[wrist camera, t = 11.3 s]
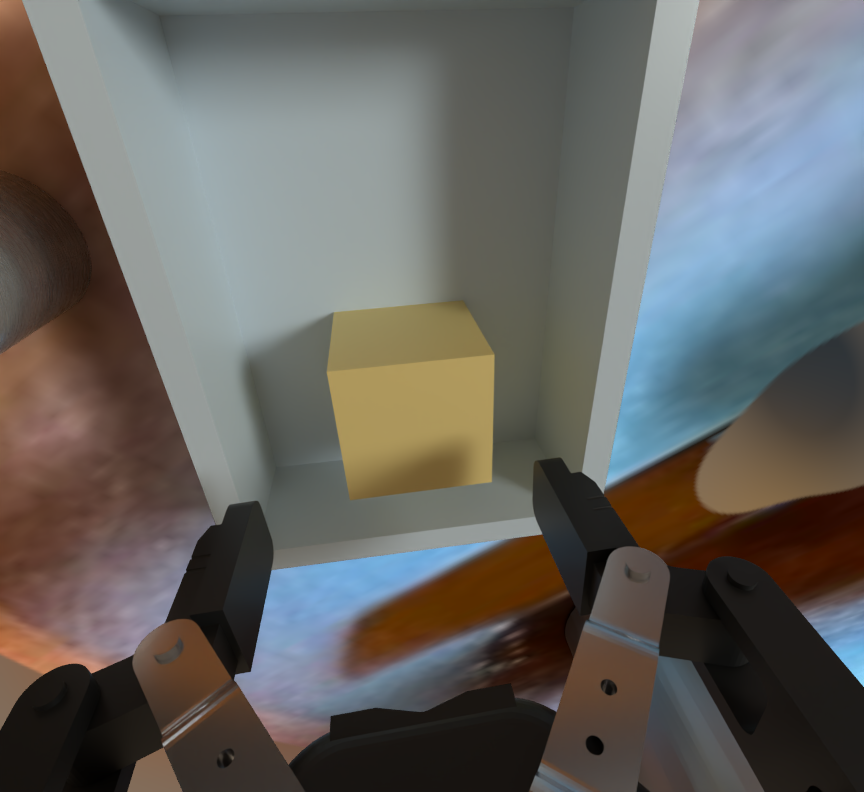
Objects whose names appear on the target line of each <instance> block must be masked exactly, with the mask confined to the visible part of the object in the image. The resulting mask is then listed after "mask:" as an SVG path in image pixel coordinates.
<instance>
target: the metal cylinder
mask: <svg viewBox="0 0 864 792" xmlns="http://www.w3.org/2000/svg"><path fill="white" fill-rule="evenodd" d="M90 278H91V259H90V253H89V250H88V247H87V244H86V241H85V239H84V237H83V235H82V233H81V231H80V229H79V228H78V226H77V224H76V223H75V222H74V220H73V219H72V218H71V216H70V215H69V214H68V213H67V212H66V210H65V209H64V208H63V207H62V206H61V205H60V204H59V203H58V202H57V201H55V200H54V199H53V198H52V197H51V196H50V195H48V194H47V193H46V192H44V191H43V190H42V189H40V188H39V187H37V186H35V185H34V184H32V183H31V182H29V181H27V180H25V179H23V178H21V177H19V176H16V175H14V174H11V173H8V172H6V171H2V170H0V354H2V353H3V352H5V351H6V350H8V349H9V348H11V347H12V346H14V345H15V344H17V343H18V342H20V341H21V340H23V339H24V338H26V337H27V336H29V335H30V334H32V333H33V332H35V331H36V330H38V329H39V328H41V327H43V326H44V325H46V324H47V323H49V322H50V321H52V320H53V319H55V318H56V317H58V316H59V315H61V314H62V313H64V312H65V311H67V310H68V309H70V308H71V307H73V306H74V305H75V304H76V303H77V302H79V301H80V299H81V298H82V297H83V295H84V294H85V292H86V290H87V288H88V286H89V282H90Z"/></svg>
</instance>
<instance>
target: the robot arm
mask: <svg viewBox="0 0 864 792" xmlns="http://www.w3.org/2000/svg"><path fill="white" fill-rule="evenodd" d="M532 502H533V510H534V515H535V518H536V521H537V523H538V525H539V528H540V530H541V532H542V534H543V536H544V539H545V541H546V543H547V545H548V547H549V550H550V552H551V554H552V556H553V558H554V561H555V563H556V565H557V567H558V569H559V572H560V574H561V576H562V578H563V580H564V583H565V585H566V587H567V589H568V591H569V594H570V596H571V598H572V600H573V602H574V605H575V609H574V610H573V611H572V613H571V614H570V616H569V618H568V620H567V623H566V628H565V636H566V641H567V643H568V646H569V648H570V651H571V653H572V656H573V658H574V659H573V662H572V665H571V668H570V672H569V675H568V678H567V681H566V684H565V687H564V691H563V694H562V697H561V700H560V703H559V706H558V710H557V712H555V711H554V710H552V709H550V708H548V707H546V706H544V705H541V704H539V703H536V702H534V701H529V700H525V699H520V698H515V697H514V694H513V690H512V686H511V683H510V684H505V685H499V686H494V687H488V688H483V689H477V690H472V691H467V692H465V693H463V694H461V695H459V696H457V697H455V698H453V699H451V700H449V701H446V702H444V703H442V704H440V705H438V706H436V707H434V708H432V709H430V710H428V711H425V712H412V711H402V710H392V709H382V708H373V709H367V710H362V711H356V712H351V713H345V714H340V715H334V716H331V722H330V732H329V733H327V734H325V735H323V736H322V737H320V738H319V739H317V740H315V741H314V742H312V743H311V744H310V745H309V746H307V747H306V748H305V749H304V750H302V751H301V752H300V753H299V754H298V755H297V756H296V757H295V758H294V759H293V760H292V761H291V763H290V764H289V765H288V764H287V762H286V760H285V759H284V757H283V756H282V754H281V753H280V751H279V749H278V748H277V746H276V745H275V743H274V741H273V740H272V738H271V737H270V735H269V733H268V732H267V730H266V729H265V727H264V726H263V724H262V722H261V721H260V719H259V718H258V716H257V714H256V713H255V711H254V710H253V708H252V707H251V705H250V703H249V702H248V700H247V699H246V697H245V695H244V694H243V692H242V691H241V689H240V688H239V686H238V685H237V683H236V682H235V681H234V677H235V674H240V673H246V672H251V667H252V662H253V658H254V653H255V648H256V643H257V638H258V633H259V628H260V623H261V618H262V614H263V609H264V604H265V599H266V594H267V589H268V584H269V579H270V574H271V570H272V565H273V558H274V549H273V541H272V538H271V535H270V532H269V529H268V526H267V523H266V520H265V517H264V514H263V511H262V508H261V505H260V503H259V502H258V501H250V502H243V503H236V504H230V505H229V506H228V508H227V510H226V513H225V516H224V518H223V521H222V524H220V525H213V526H210V528H209V529H208V530H207V531H206V532H205V533H204V534H203V536H202V537H201V538H200V539H199V540H198V542H197V544H196V547H195V549H194V552H193V554H192V560H190V562H189V564H188V567H187V569H186V573H185V574H184V577H183V579H182V582H181V584H180V587H179V589H178V592H177V594H176V597H175V599H174V602H173V604H172V607H171V609H170V612H169V614H168V617H167V619H166V622H165V624H163V625H161V626H159V627H157V628H156V629H155V630H153V631H152V632H151V633H149V634H148V635H147V636H146V637H145V638H144V639H143V640H142V642H141V643H140V644H139V646H138V648H137V649H136V651H135V654H134V655H132V656H130V657H128V658H126V659H124V660H122V661H120V662H117V663H115V664H113V665H110V666H108V667H106V668H104V669H101V670H99V671H97V672H94V673H92V674H91V673H90V672H89V670H88V669H87V668H86V667H85V666H83V665H80V664H68V665H64V666H60V667H58V668H56V669H53V670H51V671H49V672H48V673H46V674H44V675H43V676H41V677H40V678H39V679H37V680H36V681H35V682H34V683H33V684H31V685H30V686H29V687H28V688H27V689H26V690H25V691H24V692H23V693H22V695H21V696H20V697H19V698H18V700H17V702H16V703H15V705H14V707H13V708H12V710H11V712H10V714H9V716H8V717H7V719H6V721H5V723H4V725H3V726H2V728H1V730H0V792H127V790H128V787H129V784H130V780H131V777H132V774H133V770H134V768H135V764H136V761H137V760H140V759H141V758H143V757H145V756H147V755H149V754H151V753H153V752H155V751H157V750H159V749H161V748H163V747H164V749H165V752H166V754H167V756H168V759H169V761H170V763H171V766H172V768H173V770H174V772H175V775H176V777H177V780H178V782H179V784H180V786H181V788H182V791H183V792H864V687H863V686H862V684H861V683H860V682H859V681H858V680H857V679H856V677H855V676H854V675H853V674H852V673H851V671H850V670H849V669H848V668H847V667H846V666H845V664H844V663H843V662H842V661H841V660H840V658H839V657H838V656H837V655H836V654H835V653H834V651H833V650H832V649H831V648H830V647H829V645H828V644H827V643H826V642H825V641H824V640H823V638H822V637H821V636H820V635H819V634H818V632H817V631H816V630H815V629H814V628H813V626H812V625H811V624H810V623H809V622H808V621H807V619H806V618H805V617H804V616H803V615H802V613H801V612H800V611H799V610H798V609H797V608H796V606H795V605H794V604H793V603H792V602H791V600H790V599H789V598H788V597H787V596H786V595H785V593H784V592H783V591H782V590H781V589H780V587H779V586H778V585H777V584H776V583H775V582H774V580H773V579H772V578H771V577H770V576H769V575H768V574H767V573H766V572H765V571H764V570H763V569H761V568H760V567H758V566H757V565H755V564H753V563H751V562H749V561H746V560H744V559H740V558H736V557H719V558H716V559H714V560H712V561H711V562H710V563H709V564H708V567H707V570H706V571H702V570H693V569H684V568H676V567H671V566H668V565H666V564H665V563H664V562H663V560H662V559H661V558H659V557H658V556H657V555H655V554H654V553H652V552H650V551H648V550H646V549H643V548H640V547H639V546H638V544H637V543H636V541H635V540H634V538H633V537H632V535H631V534H630V533H629V531H628V530H627V528H626V527H625V525H624V524H623V522H622V521H621V519H620V518H619V516H618V515H617V513H616V512H615V510H614V509H613V508H611V504H610V503H609V501H608V500H607V498H606V497H604V494H603V492H602V491H601V490H600V488H599V487H598V485H597V484H596V482H595V481H593V480H592V479H591V478H589V477H588V476H586V475H585V474H584V473H582V472H575V473H571V472H570V471H569V469H568V467H567V466H566V464H565V463H564V461H563V460H562V458H560V457H558V458H551V459H544V460H537V461H535V462H534V468H533V497H532Z"/></svg>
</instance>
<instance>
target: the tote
mask: <svg viewBox="0 0 864 792" xmlns="http://www.w3.org/2000/svg"><path fill="white" fill-rule="evenodd" d="M22 1H23V4H24V7H25V9H26V12H27V15H28V18H29V20H30V23H31V26H32V28H33V31H34V34H35V36H36V39H37V42H38V45H39V47H40V50H41V53H42V55H43V58H44V61H45V64H46V66H47V69H48V72H49V74H50V77H51V80H52V82H53V85H54V88H55V91H56V93H57V96H58V99H59V101H60V104H61V107H62V110H63V112H64V115H65V118H66V120H67V123H68V126H69V128H70V131H71V134H72V137H73V139H74V142H75V145H76V147H77V150H78V153H79V156H80V158H81V161H82V164H83V166H84V169H85V172H86V174H87V177H88V180H89V183H90V185H91V188H92V191H93V193H94V196H95V199H96V202H97V204H98V207H99V210H100V212H101V215H102V218H103V221H104V223H105V226H106V229H107V231H108V234H109V237H110V239H111V242H112V245H113V248H114V250H115V253H116V256H117V258H118V261H119V264H120V267H121V269H122V272H123V275H124V277H125V280H126V283H127V285H128V288H129V291H130V294H131V296H132V299H133V302H134V304H135V307H136V310H137V313H138V315H139V318H140V321H141V323H142V326H143V329H144V331H145V334H146V337H147V340H148V342H149V345H150V348H151V350H152V353H153V356H154V359H155V361H156V364H157V367H158V369H159V372H160V375H161V377H162V380H163V383H164V386H165V388H166V391H167V394H168V396H169V399H170V402H171V405H172V407H173V410H174V413H175V415H176V418H177V421H178V423H179V426H180V429H181V432H182V434H183V437H184V440H185V442H186V445H187V448H188V451H189V453H190V456H191V459H192V461H193V464H194V467H195V470H196V472H197V475H198V478H199V480H200V483H201V486H202V488H203V491H204V494H205V497H206V499H207V502H208V505H209V507H210V510H211V513H212V516H213V518H214V521H215V524H216V525H220V524H222V521H223V518H224V516H225V513H226V510H227V508H228V506H229V505H230V504H236V503H243V502H250V501H258V502H259V503H260V505H261V508H262V511H263V514H264V517H265V520H266V523H267V526H268V529H269V532H270V535H271V538H272V541H273V549H274V558H273V565H272V570H276V569H283V568H291V567H298V566H306V565H313V564H321V563H329V562H336V561H344V560H351V559H359V558H366V557H374V556H381V555H389V554H397V553H404V552H412V551H419V550H427V549H434V548H442V547H449V546H457V545H465V544H472V543H480V542H487V541H495V540H502V539H510V538H517V537H525V536H533V535H540V534H542V532H541V530H540V528H539V525H538V523H537V521H536V518H535V515H534V510H533V502H532V497H533V468H534V462H535V461H537V460H544V459H551V458H558V457H560V458H562V460H563V461H564V463H565V464H566V466H567V467H568V469H569V471H570V472H571V473H575V472H582V473H584V474H585V475H586V476H588V477H589V478H591V479H592V480H593V481H595V482H596V484H597V485H598V487H599V488H600V490H601V491H602V492H603V494H604V488H605V483H606V478H607V473H608V468H609V463H610V458H611V452H612V447H613V442H614V437H615V432H616V427H617V421H618V416H619V411H620V406H621V401H622V396H623V391H624V385H625V380H626V375H627V370H628V365H629V360H630V355H631V349H632V344H633V339H634V334H635V329H636V324H637V319H638V313H639V308H640V303H641V298H642V293H643V288H644V283H645V277H646V272H647V267H648V262H649V257H650V252H651V246H652V241H653V236H654V231H655V226H656V221H657V216H658V210H659V205H660V200H661V195H662V190H663V185H664V180H665V174H666V169H667V164H668V159H669V154H670V149H671V144H672V138H673V133H674V128H675V123H676V118H677V113H678V107H679V102H680V97H681V92H682V87H683V82H684V77H685V71H686V66H687V61H688V56H689V51H690V46H691V41H692V35H693V30H694V25H695V20H696V15H697V10H698V5H699V0H22ZM460 300H463V301H464V303H465V305H466V306H467V308H468V310H469V311H470V313H471V315H472V317H473V318H474V320H475V322H476V323H477V325H478V327H479V329H480V330H481V332H482V334H483V335H484V337H485V339H486V341H487V342H488V344H489V346H490V347H491V349H492V351H493V353H494V354H495V360H494V407H493V453H492V482H488V483H481V484H473V485H465V486H457V487H450V488H442V489H434V490H426V491H419V492H411V493H403V494H395V495H388V496H380V497H372V498H364V499H357V500H350V498H349V492H348V487H347V481H346V476H345V470H344V465H343V459H342V454H341V448H340V443H339V437H338V432H337V426H336V420H335V415H334V409H333V404H332V398H331V393H330V387H329V382H328V376H327V365H328V357H329V349H330V340H331V332H332V324H333V315H334V312H341V311H351V310H362V309H373V308H384V307H395V306H406V305H416V304H427V303H438V302H449V301H460Z"/></svg>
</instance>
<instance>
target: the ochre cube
mask: <svg viewBox="0 0 864 792" xmlns="http://www.w3.org/2000/svg"><path fill="white" fill-rule="evenodd" d="M494 360H495V354H494V353H493V351H492V349H491V347H490V346H489V344H488V342H487V341H486V339H485V337H484V335H483V334H482V332H481V330H480V329H479V327H478V325H477V323H476V322H475V320H474V318H473V317H472V315H471V313H470V311H469V310H468V308H467V306H466V305H465V303H464V301H463V300H460V301H449V302H438V303H427V304H416V305H406V306H395V307H384V308H373V309H362V310H351V311H341V312H334V315H333V324H332V332H331V340H330V349H329V357H328V365H327V376H328V382H329V387H330V393H331V398H332V404H333V409H334V415H335V420H336V426H337V432H338V437H339V443H340V448H341V454H342V459H343V465H344V470H345V476H346V481H347V487H348V492H349V498H350V500H357V499H364V498H372V497H380V496H388V495H395V494H403V493H411V492H419V491H426V490H434V489H442V488H450V487H457V486H465V485H473V484H481V483H488V482H492V453H493V407H494Z"/></svg>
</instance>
